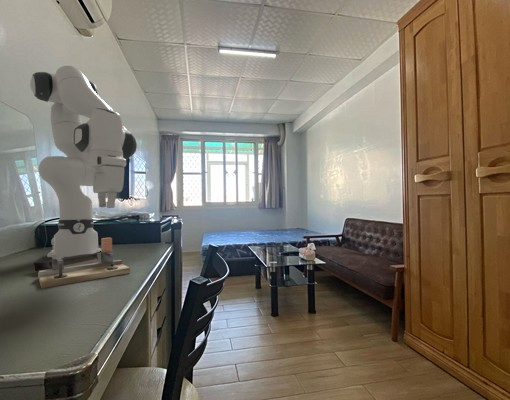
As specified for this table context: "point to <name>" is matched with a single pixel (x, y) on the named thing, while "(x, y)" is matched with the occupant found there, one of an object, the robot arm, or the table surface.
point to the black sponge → (68, 261)
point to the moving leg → (107, 251)
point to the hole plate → (78, 272)
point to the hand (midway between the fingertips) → (106, 207)
